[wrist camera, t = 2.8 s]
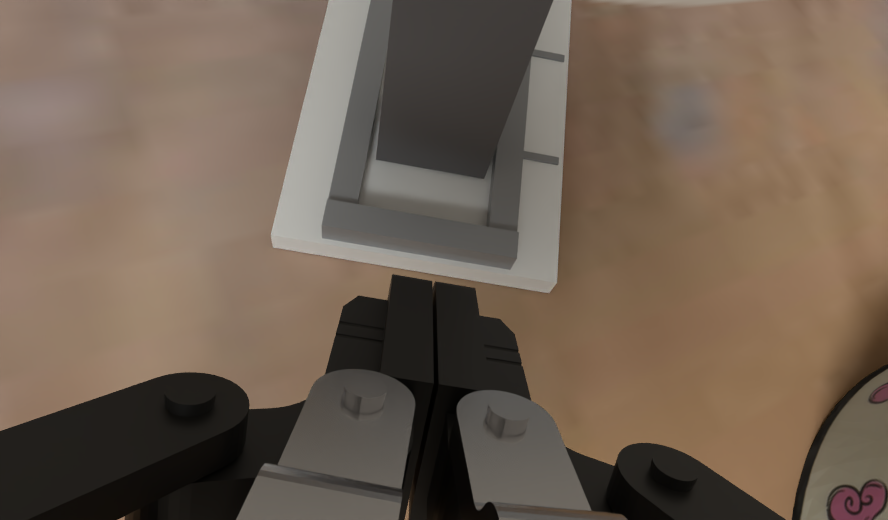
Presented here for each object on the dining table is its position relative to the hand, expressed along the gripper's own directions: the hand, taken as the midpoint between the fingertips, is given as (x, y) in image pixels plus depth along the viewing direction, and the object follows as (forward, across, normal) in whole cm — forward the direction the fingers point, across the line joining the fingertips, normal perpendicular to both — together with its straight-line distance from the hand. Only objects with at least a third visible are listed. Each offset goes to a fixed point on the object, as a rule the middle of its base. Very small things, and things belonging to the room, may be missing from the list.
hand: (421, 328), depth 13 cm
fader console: (+20, 0, -4) cm, 20 cm away
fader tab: (+15, 0, -1) cm, 15 cm away
